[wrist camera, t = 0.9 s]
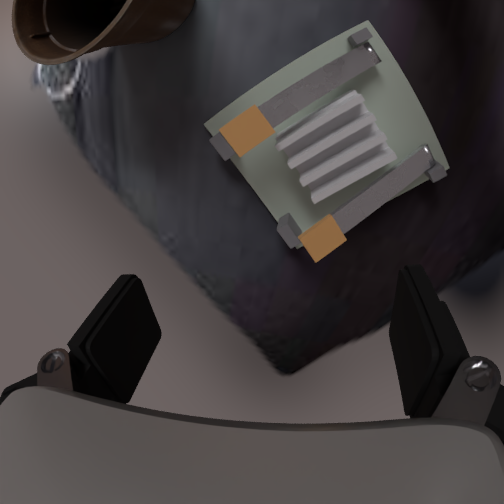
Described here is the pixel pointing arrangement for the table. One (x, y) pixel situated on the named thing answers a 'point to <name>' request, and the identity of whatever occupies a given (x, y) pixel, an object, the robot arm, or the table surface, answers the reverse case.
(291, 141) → the cooler board
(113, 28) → the plant pot
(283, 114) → the strap
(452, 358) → the robot arm
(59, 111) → the table surface
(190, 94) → the table surface
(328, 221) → the strap
